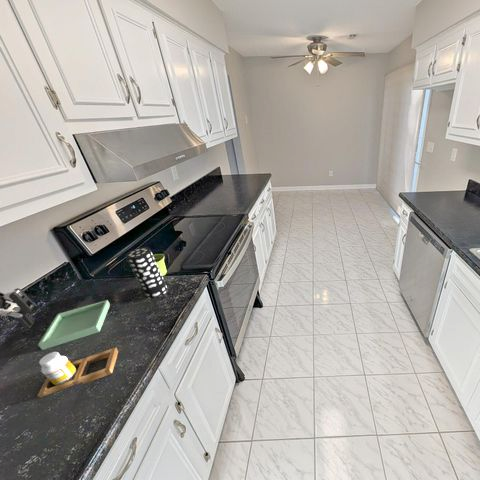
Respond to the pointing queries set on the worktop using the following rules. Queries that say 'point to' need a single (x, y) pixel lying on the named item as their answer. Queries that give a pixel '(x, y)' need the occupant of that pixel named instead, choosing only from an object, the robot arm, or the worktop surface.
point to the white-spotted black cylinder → (147, 272)
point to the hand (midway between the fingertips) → (7, 333)
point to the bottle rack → (82, 363)
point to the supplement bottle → (57, 368)
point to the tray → (75, 324)
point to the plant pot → (160, 263)
